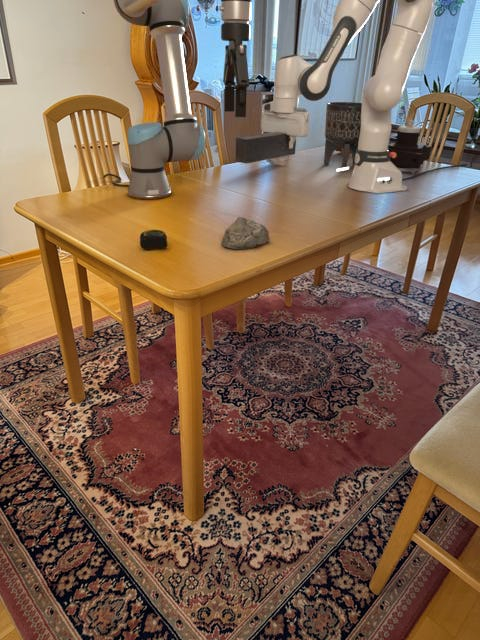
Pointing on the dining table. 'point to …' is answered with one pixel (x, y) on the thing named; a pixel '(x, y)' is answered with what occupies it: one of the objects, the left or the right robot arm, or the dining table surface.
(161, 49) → the left robot arm
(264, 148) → the bar
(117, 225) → the dining table surface
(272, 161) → the figurine
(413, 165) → the mechanical component
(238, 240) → the rock
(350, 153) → the toy
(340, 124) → the planter
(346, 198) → the dining table surface
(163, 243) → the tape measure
